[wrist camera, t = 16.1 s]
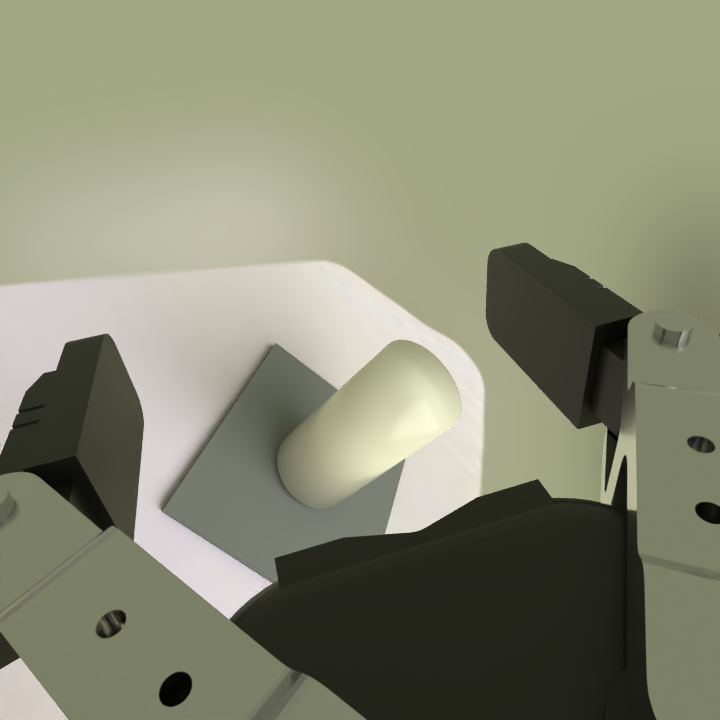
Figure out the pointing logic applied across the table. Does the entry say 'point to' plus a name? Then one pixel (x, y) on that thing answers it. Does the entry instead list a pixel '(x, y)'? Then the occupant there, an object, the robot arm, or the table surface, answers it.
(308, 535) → the grey mat
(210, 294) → the table surface
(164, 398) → the table surface
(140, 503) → the table surface
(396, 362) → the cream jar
